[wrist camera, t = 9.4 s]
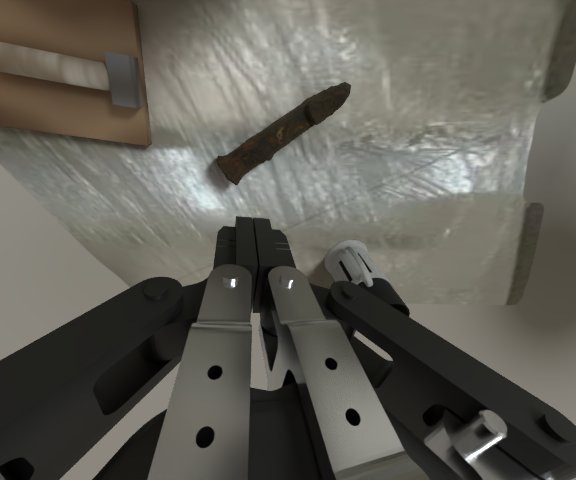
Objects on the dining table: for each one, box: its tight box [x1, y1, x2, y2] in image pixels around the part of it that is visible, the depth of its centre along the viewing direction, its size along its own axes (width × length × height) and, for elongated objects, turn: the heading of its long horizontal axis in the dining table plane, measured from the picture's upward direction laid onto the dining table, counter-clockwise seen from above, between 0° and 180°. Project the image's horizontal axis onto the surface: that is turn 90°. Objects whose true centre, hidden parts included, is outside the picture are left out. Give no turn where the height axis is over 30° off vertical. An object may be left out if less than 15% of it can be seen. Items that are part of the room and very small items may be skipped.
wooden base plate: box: [0, 0, 152, 146], centre depth 23 cm, size 13×18×4 cm
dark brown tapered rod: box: [217, 82, 351, 185], centre depth 31 cm, size 19×4×5 cm, turn 119°
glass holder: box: [324, 240, 410, 317], centre depth 39 cm, size 9×14×15 cm, turn 24°
